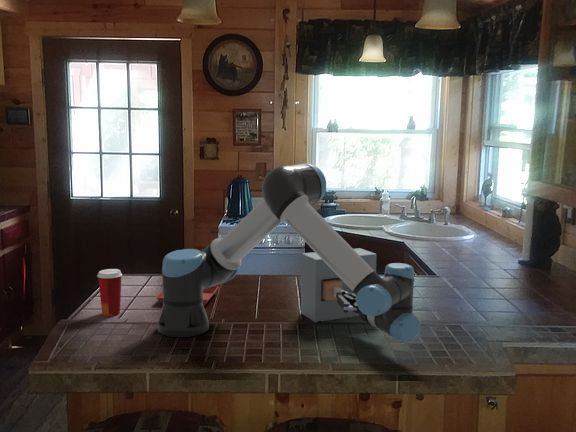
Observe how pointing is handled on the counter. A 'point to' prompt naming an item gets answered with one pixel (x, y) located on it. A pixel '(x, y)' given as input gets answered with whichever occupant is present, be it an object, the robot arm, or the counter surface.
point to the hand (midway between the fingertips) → (335, 291)
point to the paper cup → (110, 291)
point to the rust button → (329, 288)
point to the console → (311, 287)
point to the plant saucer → (206, 294)
